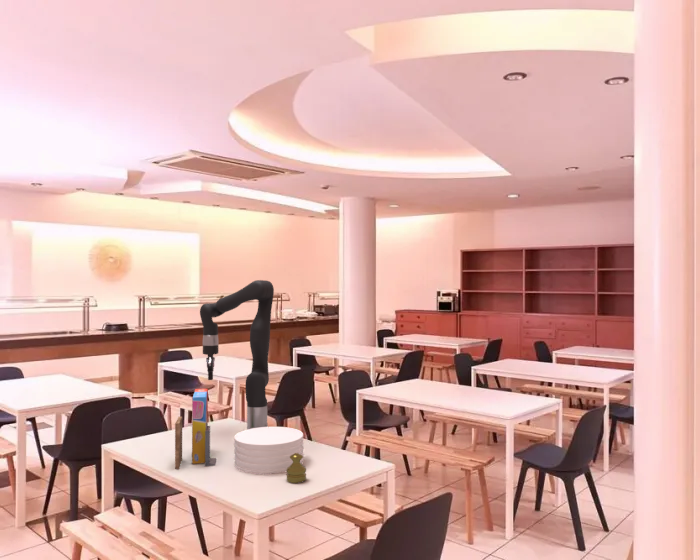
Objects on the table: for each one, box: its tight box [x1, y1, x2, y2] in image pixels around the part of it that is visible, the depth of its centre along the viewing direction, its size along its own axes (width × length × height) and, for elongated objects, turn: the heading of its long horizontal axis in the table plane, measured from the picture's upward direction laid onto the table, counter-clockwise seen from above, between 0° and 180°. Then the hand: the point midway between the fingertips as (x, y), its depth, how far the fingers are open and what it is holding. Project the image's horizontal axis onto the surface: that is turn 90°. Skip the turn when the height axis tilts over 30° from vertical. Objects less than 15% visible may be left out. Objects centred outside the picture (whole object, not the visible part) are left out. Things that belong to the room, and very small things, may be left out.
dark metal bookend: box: [204, 425, 217, 467], centre depth 229 cm, size 4×8×14 cm, turn 11°
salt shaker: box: [286, 453, 307, 484], centre depth 208 cm, size 7×7×10 cm
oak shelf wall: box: [174, 416, 183, 470], centre depth 227 cm, size 2×12×18 cm, turn 11°
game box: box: [191, 388, 209, 465], centre depth 237 cm, size 21×6×27 cm, turn 12°
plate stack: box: [233, 426, 304, 475], centre depth 229 cm, size 28×28×12 cm
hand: (210, 379), depth 271 cm, fingers closed
